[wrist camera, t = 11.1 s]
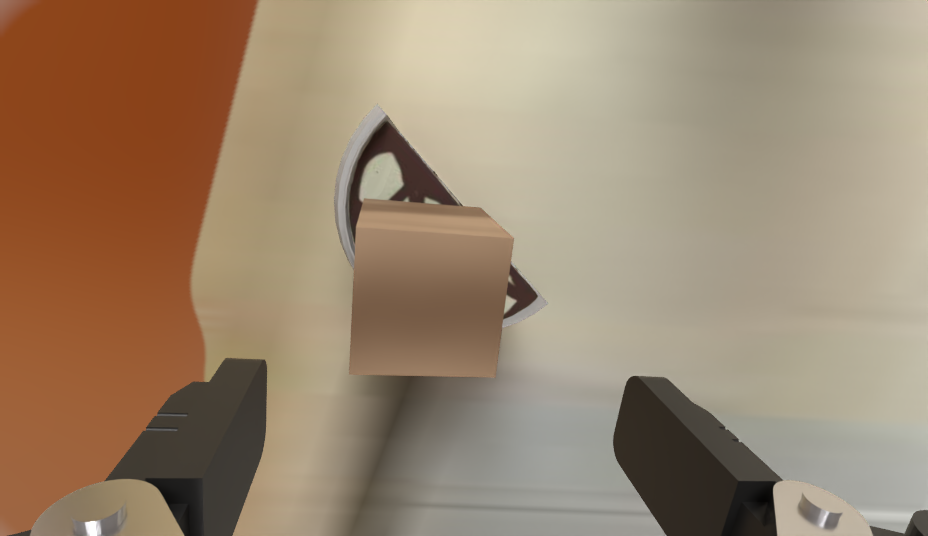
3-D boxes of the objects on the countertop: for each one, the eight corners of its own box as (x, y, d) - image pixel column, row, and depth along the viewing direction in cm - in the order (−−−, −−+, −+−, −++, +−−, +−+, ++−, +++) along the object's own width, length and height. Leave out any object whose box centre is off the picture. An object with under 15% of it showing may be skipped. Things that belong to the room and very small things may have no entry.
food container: (303, 177, 30) (264, 203, 20) (379, 108, 29) (376, 102, 20) (437, 316, 34) (457, 392, 24) (506, 256, 33) (555, 311, 24)
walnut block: (364, 198, 21) (356, 227, 15) (480, 207, 22) (514, 238, 16) (358, 309, 22) (349, 374, 17) (468, 314, 23) (495, 377, 17)
